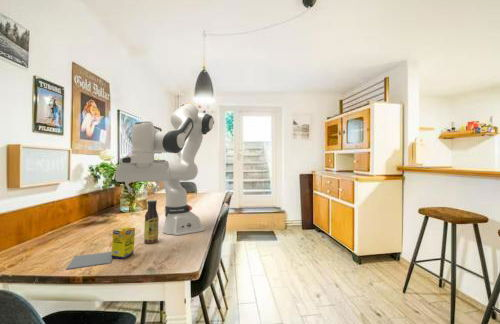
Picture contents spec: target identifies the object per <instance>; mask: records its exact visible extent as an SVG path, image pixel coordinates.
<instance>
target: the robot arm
mask: <svg viewBox="0 0 500 324" xmlns="http://www.w3.org/2000/svg"><path fill="white" fill-rule="evenodd" d="M170 123H171V126H172V127H173V128H174V130H166V131H165V130H164V131H159V130H158V129H156V127H155V126H154V123H153V122H152V121H136V122H135V123H133V125H132V130H131V145H132V148H131V153H130V154H131V155H127V156H124V157H121V158H119V161H118V163H119V164H118V165H117V166H116V169H115V177H114V178H115V181H116V182H117V183H118V182H119V183H123V182H124V183H125V184H124V186H125V187H126V188H127V193H129V194H130V193H133V187H131V186H130V185H129V184H130V182H132V183H133V182H155V184H156V185H155V186H153V187H152V192H153V193H156V192H157V191H158V190H157V189H158V187H159V185H160V182H161V183H162V184H163V187H164V191H165V207H164V217H165V219H164V226H163V230H162V233H163V234H167V235H174V236H183V235H188V234H193V233H198V232H199V233H200V232H203V231H205V230H206V229H205V225H203V224H202V223H201V219H200V217H199V216H198V215H196V214H195V213H193V212H192V210H193V206H191V205H189V204H187V203H188V201H187V199H188V196H187V195H188V193H187V189H186V188H184V187H183V186H182V185H181V182H180V181H182V182H187V181H192V180H195V179H196V177H197V176H198V172H199V170H198V166H197V164H196V163H195V159H196V156H197V154H198V151H199V149H200V147H201V145H202V143H203V138H204V136H205V135H207V134H208V133H210V132H211V131H212V129H213V127H214V118H213V116H212V115H211V114H208V113H203V112H199V109H198V108H197V106H196V105H194V104H193V103H186V104H183V105H181V106H180V107H178V108H177V109H175V110H174V112H173V113H172V114H171V115H170ZM155 153H164V154H166V153H170V154H176V155H177V156H178V158H177V160H166V159H155Z"/></svg>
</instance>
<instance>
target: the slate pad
mask: <svg viewBox="0 0 500 324" xmlns="http://www.w3.org/2000/svg"><path fill="white" fill-rule="evenodd" d="M111 254H112V251H106V252H99V253H92V254H85V255H84V254H82V255H76V256H74V257H73V258H72V260H71V262H69V264H68V265H67V267H66V268H65V271H67V270H73V269H74V270H75V269H80V268H86V267H87V268H88V267H89V268H90V267H95V266H102V265H108V264H111V263H112V261H113V259H114V257H111Z"/></svg>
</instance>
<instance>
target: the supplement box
mask: <svg viewBox="0 0 500 324" xmlns="http://www.w3.org/2000/svg"><path fill="white" fill-rule="evenodd" d="M135 232H136V228H135V227H131V226H130V227H129V226H122V227H119V228H116V229H115V228H114V229H113V230H112V240H111V241H112V243H111V252H112V254H111V257H113V258H115V259H126V258H127V257H130V256H132V255H134V253H135V252H134V251H135V250H134V249H135V234H136V233H135Z"/></svg>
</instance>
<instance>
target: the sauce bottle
mask: <svg viewBox="0 0 500 324" xmlns="http://www.w3.org/2000/svg"><path fill="white" fill-rule="evenodd" d="M157 203H158V201H157V199H151V200H150V199H149V200H147V211H146V213H145V214H144V215H145V216H144V228H143V229H144V230H143V232H144V234H143V239H144V243H145V244H155V243H157V242H158V239H159V214H158V211H157Z"/></svg>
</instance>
